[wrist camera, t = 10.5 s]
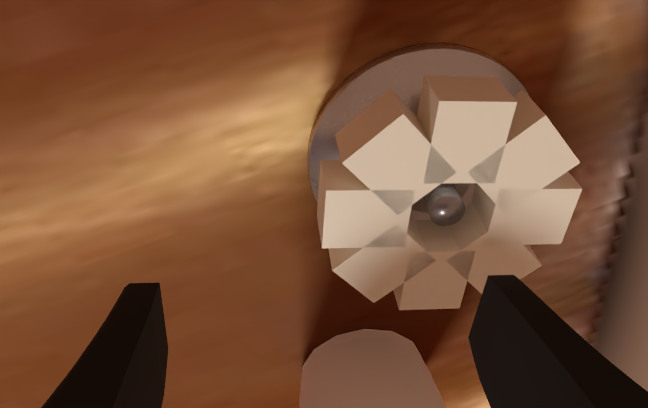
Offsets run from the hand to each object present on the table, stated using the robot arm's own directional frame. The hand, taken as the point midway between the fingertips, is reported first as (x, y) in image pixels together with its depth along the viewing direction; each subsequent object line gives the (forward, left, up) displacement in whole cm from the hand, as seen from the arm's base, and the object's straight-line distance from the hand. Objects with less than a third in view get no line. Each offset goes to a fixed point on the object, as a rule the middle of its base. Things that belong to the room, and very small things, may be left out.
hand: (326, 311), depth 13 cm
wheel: (-2, -5, -7) cm, 9 cm away
